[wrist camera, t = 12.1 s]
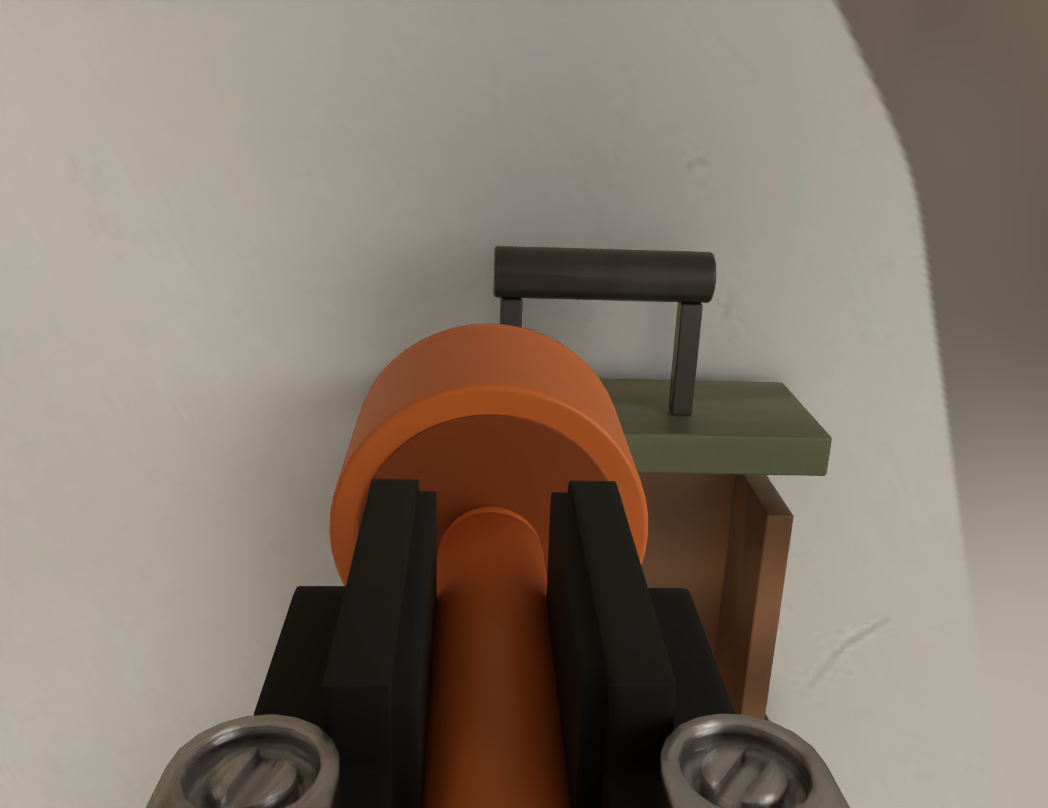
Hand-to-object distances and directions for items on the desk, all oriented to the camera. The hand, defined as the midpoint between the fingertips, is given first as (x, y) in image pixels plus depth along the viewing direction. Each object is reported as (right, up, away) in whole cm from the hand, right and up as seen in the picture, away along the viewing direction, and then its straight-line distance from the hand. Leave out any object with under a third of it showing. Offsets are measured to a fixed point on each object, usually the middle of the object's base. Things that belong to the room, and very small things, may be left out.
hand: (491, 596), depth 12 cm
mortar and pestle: (0, +1, +5) cm, 5 cm away
